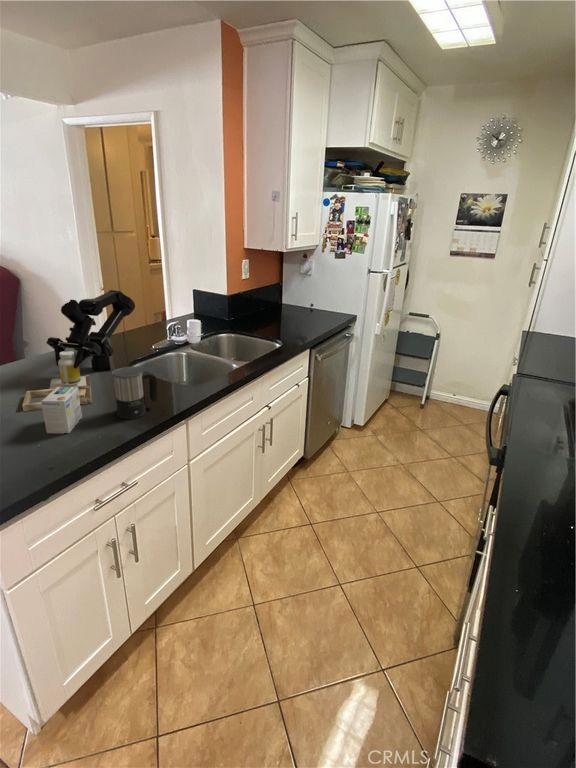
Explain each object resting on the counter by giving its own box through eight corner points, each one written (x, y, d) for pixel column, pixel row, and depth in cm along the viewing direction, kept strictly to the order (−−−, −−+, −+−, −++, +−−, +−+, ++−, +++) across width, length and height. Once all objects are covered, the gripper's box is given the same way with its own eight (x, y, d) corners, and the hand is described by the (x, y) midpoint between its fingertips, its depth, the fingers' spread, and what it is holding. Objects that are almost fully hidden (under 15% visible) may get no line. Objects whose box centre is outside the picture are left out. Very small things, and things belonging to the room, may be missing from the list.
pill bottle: (85, 380, 154) (80, 351, 150) (71, 387, 149) (66, 356, 144) (71, 377, 156) (66, 348, 152) (57, 383, 151) (52, 353, 146)
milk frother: (128, 422, 130) (124, 379, 125) (97, 408, 138) (92, 367, 132) (163, 407, 142) (161, 367, 136) (133, 395, 149) (129, 356, 144)
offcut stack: (87, 394, 148) (86, 387, 147) (87, 401, 143) (86, 394, 142) (64, 396, 145) (63, 389, 144) (64, 404, 140) (62, 397, 139)
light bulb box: (61, 417, 131) (56, 386, 127) (83, 417, 132) (78, 386, 127) (45, 433, 121) (39, 400, 117) (69, 434, 122) (64, 401, 118)
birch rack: (91, 390, 151) (89, 374, 149) (91, 403, 141) (89, 387, 139) (27, 396, 143) (24, 380, 141) (23, 411, 133) (19, 394, 131)
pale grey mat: (89, 377, 162) (89, 375, 162) (89, 389, 151) (89, 388, 151) (51, 380, 157) (51, 379, 156) (49, 393, 146) (48, 392, 146)
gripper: (114, 342, 161) (101, 378, 155) (70, 337, 163) (55, 372, 157) (100, 328, 150) (85, 366, 145) (53, 322, 153) (37, 360, 147)
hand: (66, 367), depth 149 cm, fingers closed on pill bottle, 6 cm apart
